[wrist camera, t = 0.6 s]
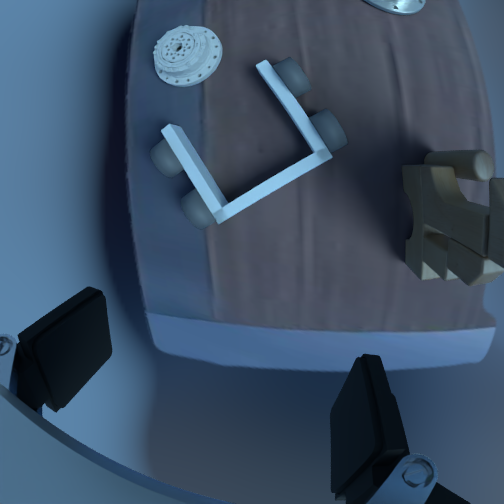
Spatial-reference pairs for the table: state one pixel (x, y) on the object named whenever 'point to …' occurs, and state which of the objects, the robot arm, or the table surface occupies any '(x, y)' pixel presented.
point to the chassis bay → (218, 209)
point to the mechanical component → (187, 55)
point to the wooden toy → (454, 219)
